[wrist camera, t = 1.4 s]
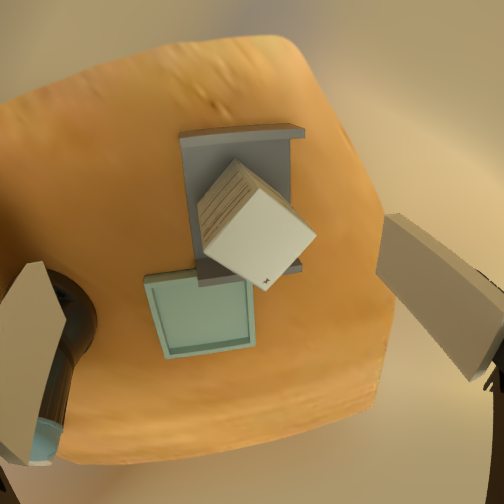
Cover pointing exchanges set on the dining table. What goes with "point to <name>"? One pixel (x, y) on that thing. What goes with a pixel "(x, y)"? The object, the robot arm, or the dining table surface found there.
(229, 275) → the bay
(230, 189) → the supplement box
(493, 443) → the robot arm
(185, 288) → the tray
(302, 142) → the dining table surface
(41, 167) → the dining table surface
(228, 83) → the dining table surface
